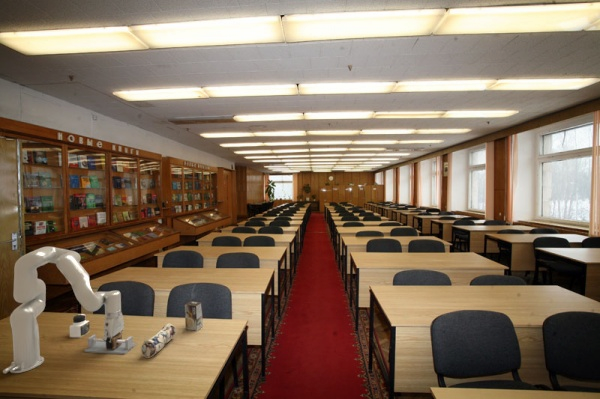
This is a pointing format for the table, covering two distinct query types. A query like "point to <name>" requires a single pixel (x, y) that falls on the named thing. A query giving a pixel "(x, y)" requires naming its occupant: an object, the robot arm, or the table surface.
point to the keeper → (116, 337)
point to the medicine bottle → (79, 326)
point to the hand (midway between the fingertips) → (114, 344)
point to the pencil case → (158, 341)
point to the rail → (100, 347)
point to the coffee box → (193, 315)
